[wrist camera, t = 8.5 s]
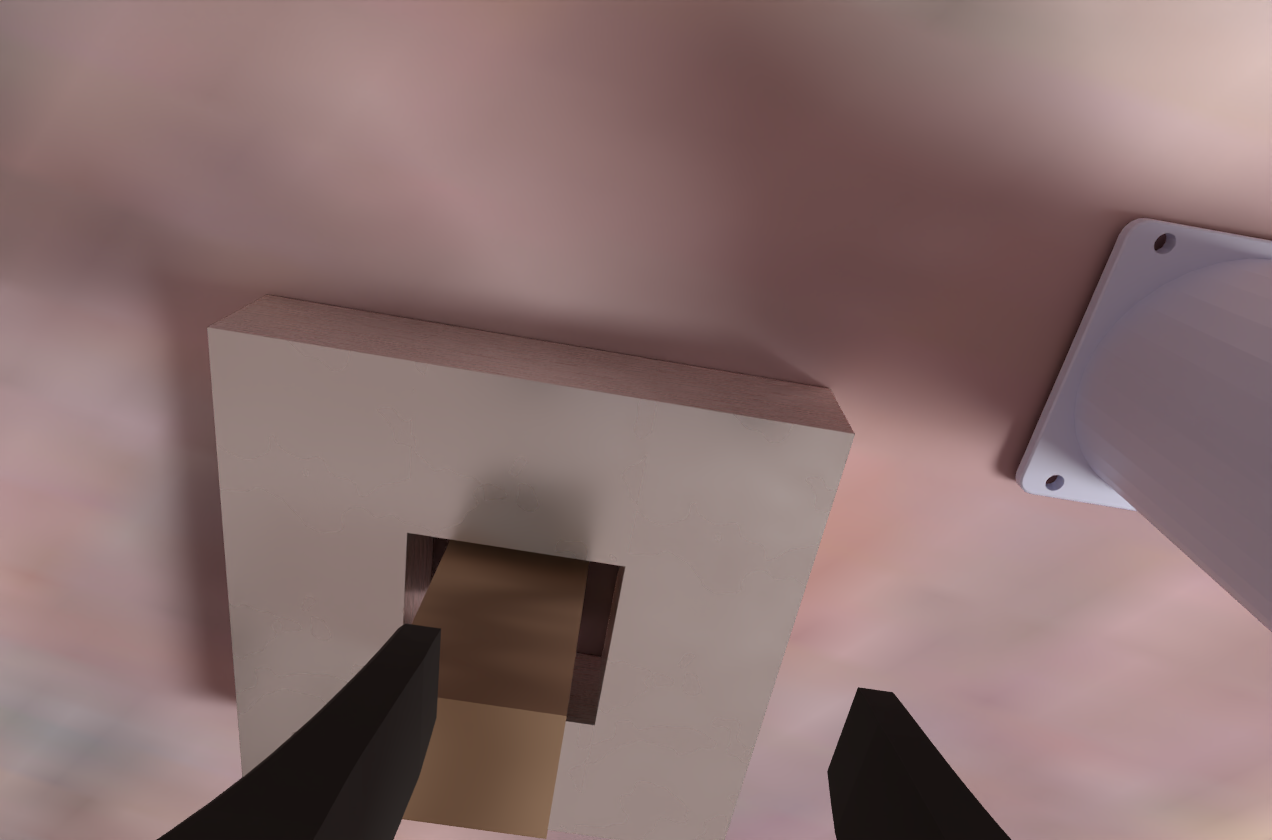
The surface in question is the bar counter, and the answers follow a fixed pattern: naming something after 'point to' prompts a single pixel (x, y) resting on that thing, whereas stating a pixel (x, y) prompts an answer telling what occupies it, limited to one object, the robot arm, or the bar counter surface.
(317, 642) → the collar
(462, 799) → the pin
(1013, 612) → the bar counter surface
